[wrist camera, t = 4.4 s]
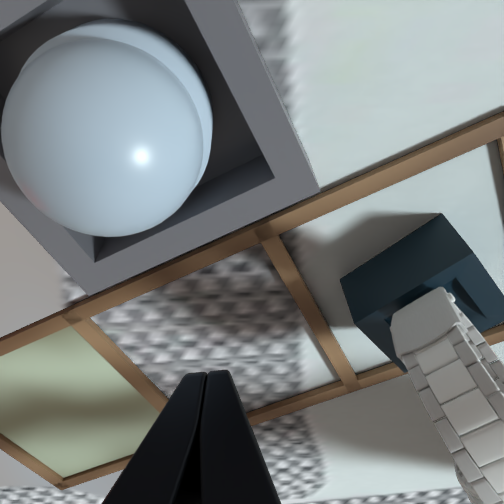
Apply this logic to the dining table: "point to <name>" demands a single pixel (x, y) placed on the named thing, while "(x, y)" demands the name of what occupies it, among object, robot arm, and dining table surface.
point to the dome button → (108, 128)
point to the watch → (441, 343)
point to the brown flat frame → (133, 379)
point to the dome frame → (222, 144)
